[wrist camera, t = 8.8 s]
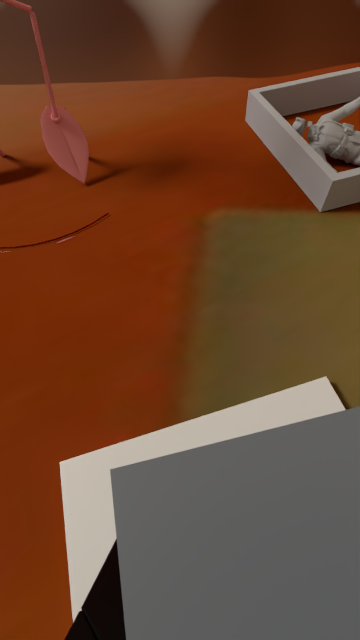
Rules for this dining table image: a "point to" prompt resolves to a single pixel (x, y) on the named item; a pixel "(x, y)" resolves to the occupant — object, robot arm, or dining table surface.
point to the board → (94, 468)
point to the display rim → (292, 148)
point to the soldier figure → (334, 135)
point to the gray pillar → (245, 536)
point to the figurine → (59, 128)
